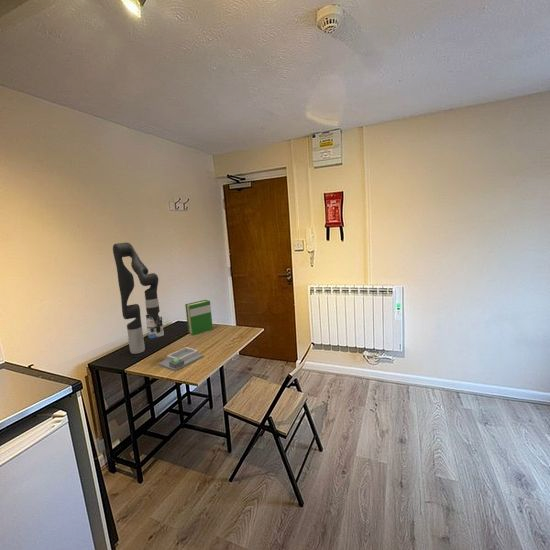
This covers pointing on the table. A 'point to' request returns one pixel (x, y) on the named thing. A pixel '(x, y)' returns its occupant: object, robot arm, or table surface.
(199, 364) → the table surface
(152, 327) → the ink box
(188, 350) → the grey tray
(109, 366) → the table surface
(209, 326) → the hardback book
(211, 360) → the table surface
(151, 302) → the robot arm
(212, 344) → the table surface
